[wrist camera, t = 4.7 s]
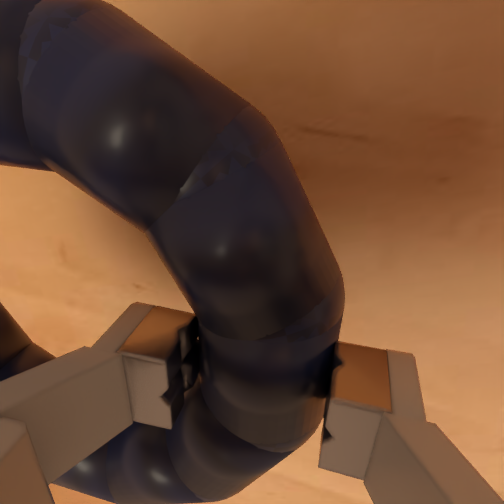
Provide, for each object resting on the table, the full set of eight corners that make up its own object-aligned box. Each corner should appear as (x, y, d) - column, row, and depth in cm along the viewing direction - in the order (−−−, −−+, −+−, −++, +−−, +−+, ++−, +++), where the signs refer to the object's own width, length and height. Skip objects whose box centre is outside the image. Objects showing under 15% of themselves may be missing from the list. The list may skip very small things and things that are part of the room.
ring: (-167, 159, 12) (-319, 189, 9) (159, -171, 6) (15, -329, 4) (84, 452, 16) (29, 532, 13) (417, 405, 10) (435, 525, 8)
